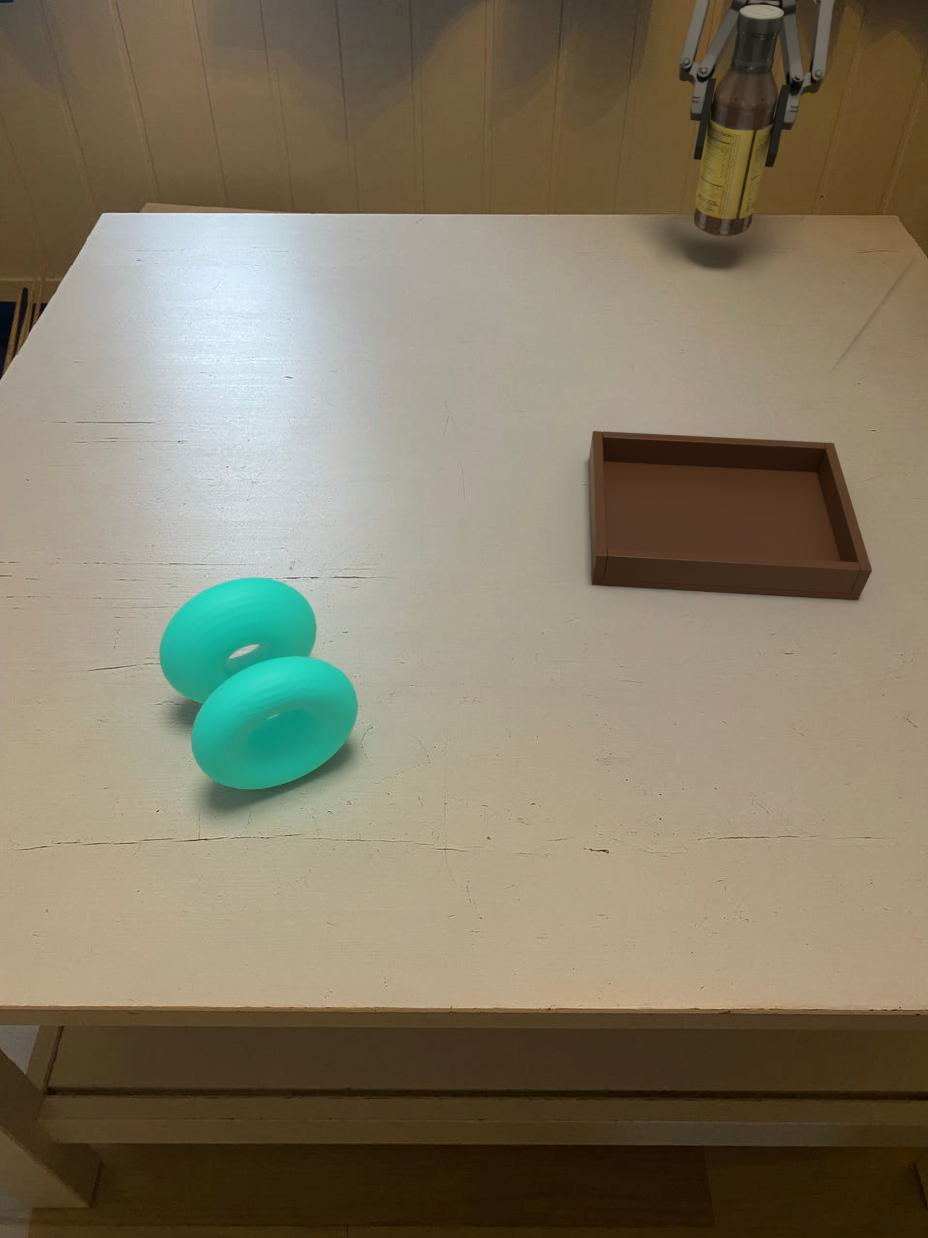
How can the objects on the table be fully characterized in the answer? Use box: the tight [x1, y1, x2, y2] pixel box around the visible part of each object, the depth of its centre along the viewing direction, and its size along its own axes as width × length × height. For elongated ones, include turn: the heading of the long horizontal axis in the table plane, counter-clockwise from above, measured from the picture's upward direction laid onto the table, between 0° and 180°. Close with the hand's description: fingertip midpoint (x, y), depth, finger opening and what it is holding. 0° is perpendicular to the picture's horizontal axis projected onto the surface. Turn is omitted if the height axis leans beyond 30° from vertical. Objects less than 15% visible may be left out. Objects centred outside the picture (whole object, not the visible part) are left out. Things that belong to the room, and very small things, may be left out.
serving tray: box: [588, 430, 873, 600], centre depth 74 cm, size 20×15×3 cm
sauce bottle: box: [693, 5, 784, 237], centre depth 93 cm, size 6×6×20 cm
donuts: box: [158, 576, 359, 790], centre depth 58 cm, size 10×10×10 cm
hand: (734, 156), depth 91 cm, fingers closed on sauce bottle, 6 cm apart
